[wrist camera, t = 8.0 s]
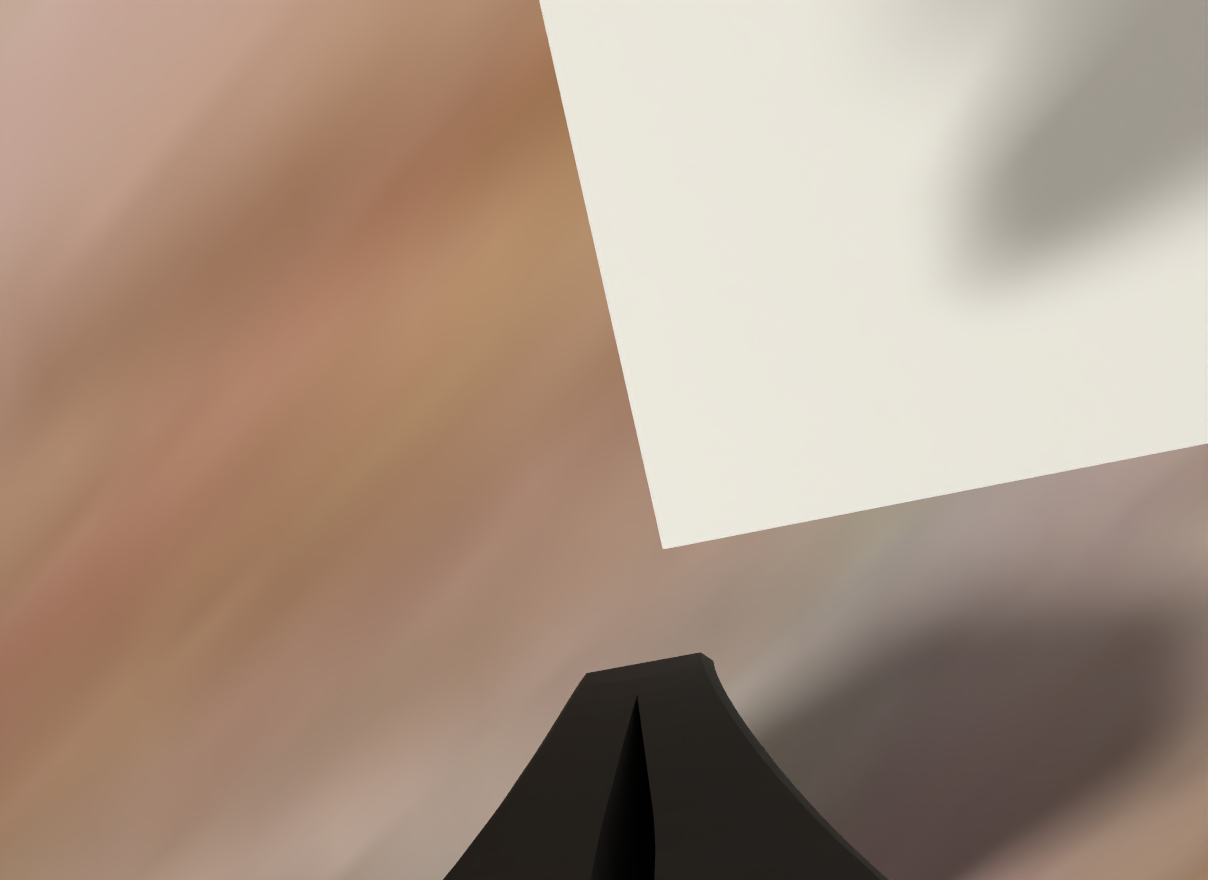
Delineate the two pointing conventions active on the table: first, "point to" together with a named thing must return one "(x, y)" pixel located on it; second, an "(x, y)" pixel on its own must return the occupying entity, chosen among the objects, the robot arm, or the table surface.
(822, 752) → the table surface
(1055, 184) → the board
